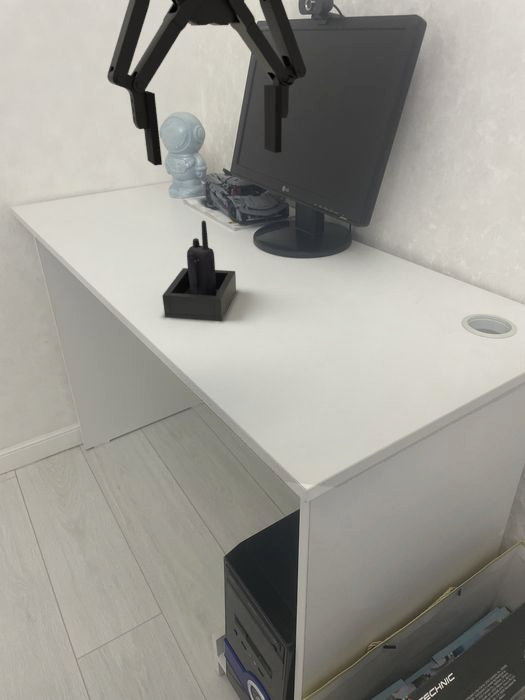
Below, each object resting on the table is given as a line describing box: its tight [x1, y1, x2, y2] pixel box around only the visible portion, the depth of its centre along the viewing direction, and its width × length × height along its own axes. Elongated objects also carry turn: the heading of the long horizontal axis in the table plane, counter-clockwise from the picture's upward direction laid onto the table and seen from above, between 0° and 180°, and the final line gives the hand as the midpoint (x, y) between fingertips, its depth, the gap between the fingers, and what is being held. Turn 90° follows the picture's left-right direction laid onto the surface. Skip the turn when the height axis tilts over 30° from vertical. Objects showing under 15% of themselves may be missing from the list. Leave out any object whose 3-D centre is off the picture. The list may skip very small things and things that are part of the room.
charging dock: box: [161, 267, 237, 322], centre depth 95 cm, size 10×12×4 cm
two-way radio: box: [186, 220, 216, 296], centre depth 92 cm, size 6×4×15 cm
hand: (216, 156), depth 56 cm, fingers open, 13 cm apart
